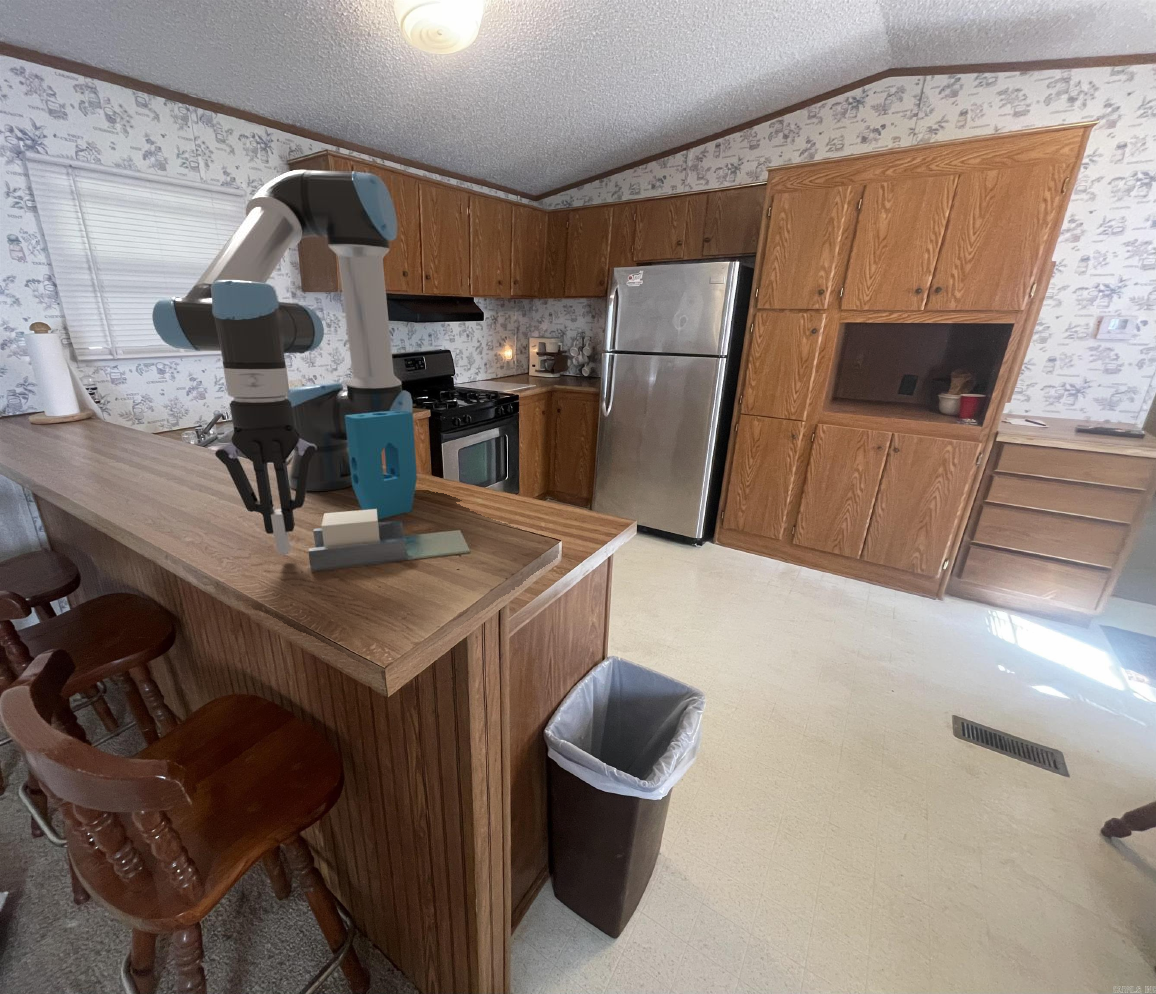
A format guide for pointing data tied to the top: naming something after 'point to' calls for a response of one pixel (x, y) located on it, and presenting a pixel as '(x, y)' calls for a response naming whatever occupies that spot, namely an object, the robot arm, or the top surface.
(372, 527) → the block
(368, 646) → the top surface
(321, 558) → the chute
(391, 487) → the block
